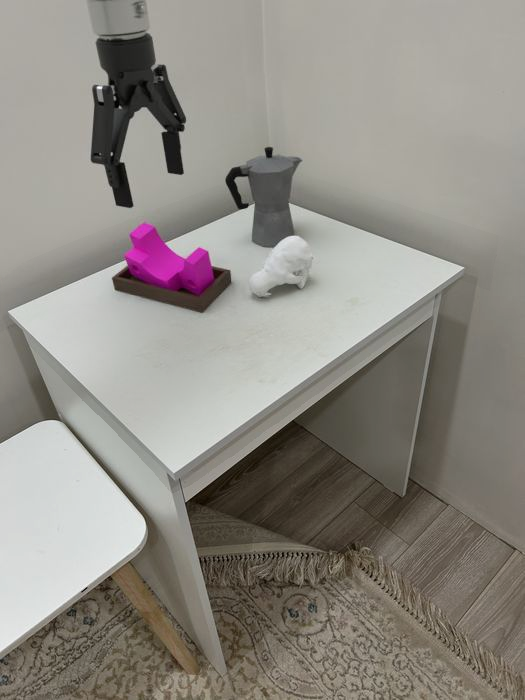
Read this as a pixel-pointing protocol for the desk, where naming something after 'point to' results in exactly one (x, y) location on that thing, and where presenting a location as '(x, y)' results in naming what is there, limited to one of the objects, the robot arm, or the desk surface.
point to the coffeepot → (267, 195)
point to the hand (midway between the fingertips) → (151, 189)
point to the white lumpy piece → (283, 266)
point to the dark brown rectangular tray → (178, 298)
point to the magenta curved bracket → (167, 263)
